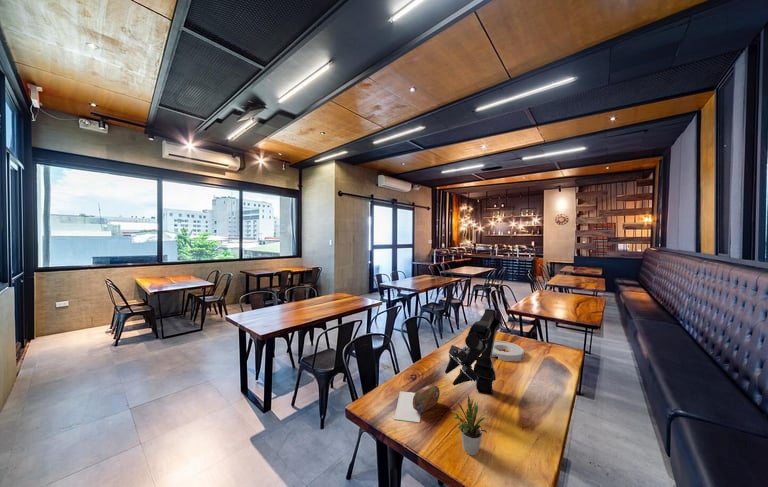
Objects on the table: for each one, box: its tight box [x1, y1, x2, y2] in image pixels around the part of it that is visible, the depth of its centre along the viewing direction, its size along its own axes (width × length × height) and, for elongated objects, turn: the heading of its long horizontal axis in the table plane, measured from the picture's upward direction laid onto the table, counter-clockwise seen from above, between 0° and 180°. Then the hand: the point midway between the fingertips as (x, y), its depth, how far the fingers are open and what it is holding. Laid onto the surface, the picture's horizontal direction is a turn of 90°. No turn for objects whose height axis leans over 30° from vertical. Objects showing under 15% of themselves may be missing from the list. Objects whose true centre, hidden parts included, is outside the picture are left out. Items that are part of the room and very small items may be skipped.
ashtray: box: [492, 340, 525, 362], centre depth 174 cm, size 23×23×4 cm
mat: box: [393, 390, 421, 424], centre depth 119 cm, size 10×20×1 cm, turn 170°
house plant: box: [451, 392, 490, 456], centre depth 96 cm, size 14×14×16 cm
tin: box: [413, 383, 441, 414], centre depth 118 cm, size 15×3×8 cm, turn 131°
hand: (449, 378), depth 120 cm, fingers open, 9 cm apart
